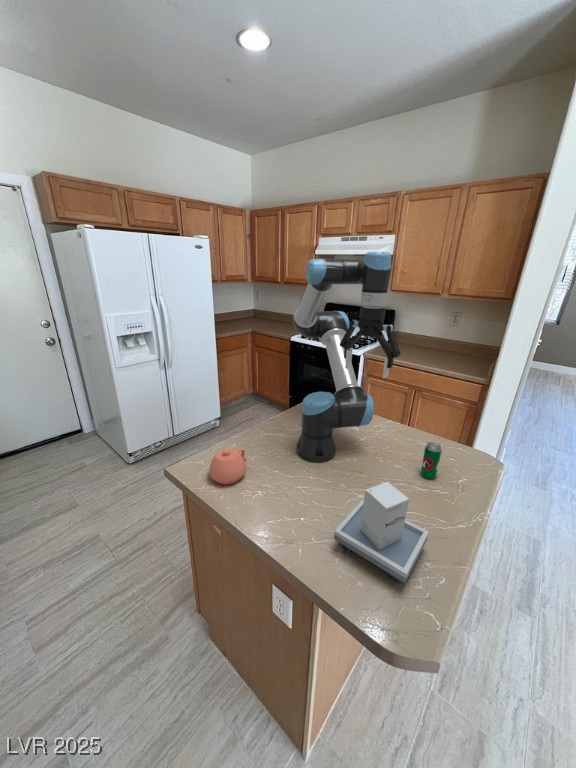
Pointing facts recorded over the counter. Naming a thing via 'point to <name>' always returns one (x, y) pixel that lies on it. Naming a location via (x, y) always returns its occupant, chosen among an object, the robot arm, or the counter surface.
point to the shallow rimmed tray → (391, 557)
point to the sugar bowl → (228, 466)
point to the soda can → (431, 460)
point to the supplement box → (383, 514)
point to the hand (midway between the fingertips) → (366, 372)
